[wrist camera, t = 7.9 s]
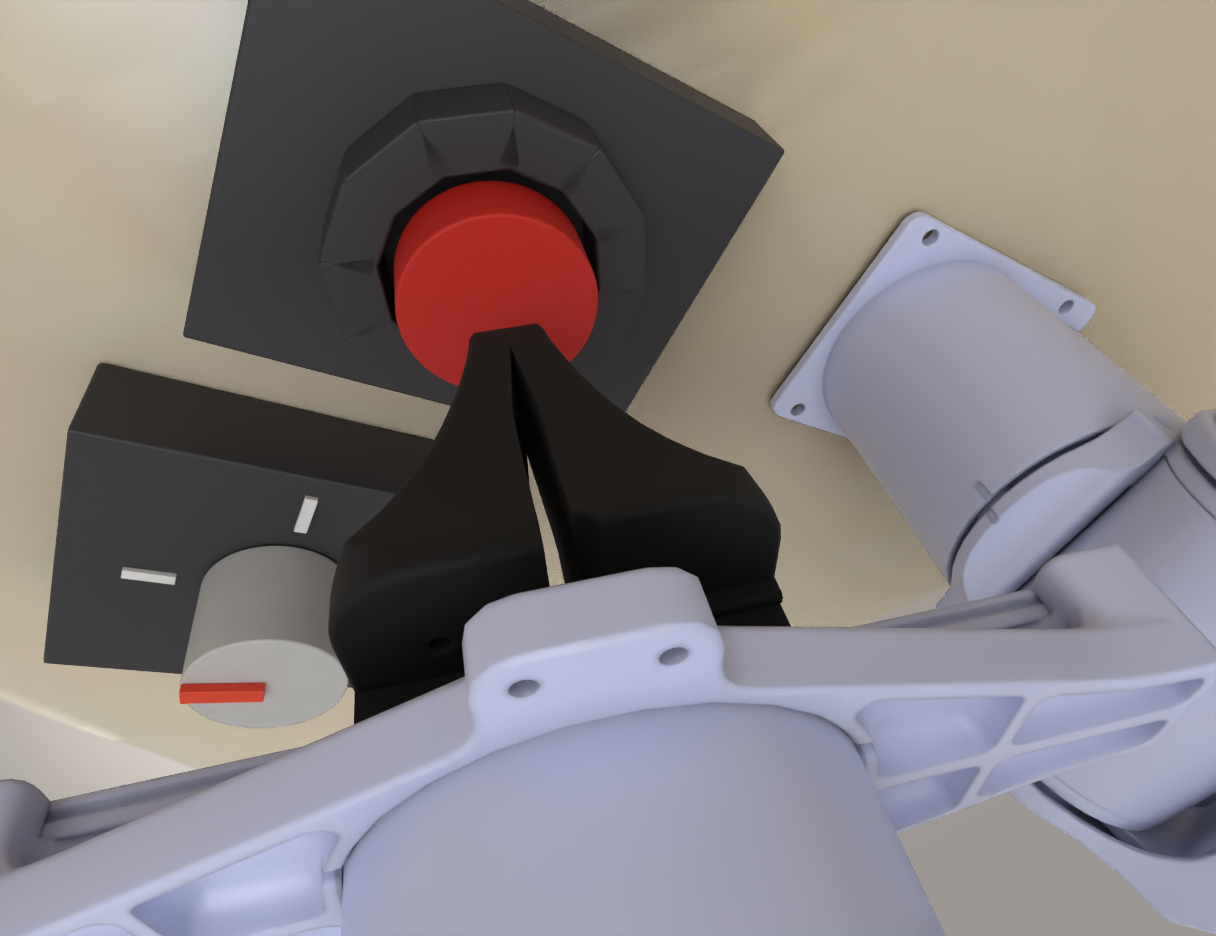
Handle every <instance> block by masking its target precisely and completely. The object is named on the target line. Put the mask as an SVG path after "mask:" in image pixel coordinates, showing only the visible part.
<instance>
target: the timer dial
mask: <svg viewBox="0 0 1216 936" xmlns="http://www.w3.org/2000/svg"><path fill="white" fill-rule="evenodd" d="M336 567H337V564H335V563H334V562H333V561H331V560H330V559H328V558H327V557H325V556H322V555H320V554H318V553H315V552H313V551H310V550H306V549H302V548H297V547H291V546H260V547H254V548H249V549H245V550H241V551H239V552H236V553H233V554H231V555H229V556H227V557H225V558H223V559H222V560H220V561H219V562H217V563H216V564H215V565H214V566H213V567H212V568H211V569H210V570H209V571H208V572H207V573H206V575H205V577H204V579H203V581H202V584H201V588H200V592H199V597H198V601H197V606H196V611H195V615H194V620H193V625H192V629H191V634H190V639H189V643H188V648H187V653H186V657H185V662H184V666H183V671H182V676H181V680H180V691H179V697H180V704H188V705H189V706H190V707H191V708H192V709H193V710H194V711H196V712H197V713H199V714H200V715H202V716H204V717H206V718H208V719H211V720H213V721H216V722H219V723H222V724H226V725H231V726H237V727H244V728H275V727H283V726H289V725H294V724H298V723H301V722H305V721H307V720H310V719H313V718H315V717H317V716H320V715H322V714H323V713H325V712H327V711H328V710H330V709H331V708H332V707H334V706H335V705H336V704H337V703H338V702H339V701H340V700H341V698H342V697H343V695H344V694H345V692H346V690H347V686H348V678H347V676H346V674H345V672H344V670H343V668H342V666H341V664H340V662H339V660H338V658H337V656H336V654H335V652H334V650H333V648H332V646H331V642H330V638H329V634H328V621H329V603H330V594H331V589H332V584H333V579H334V575H335V571H336Z"/></svg>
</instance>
